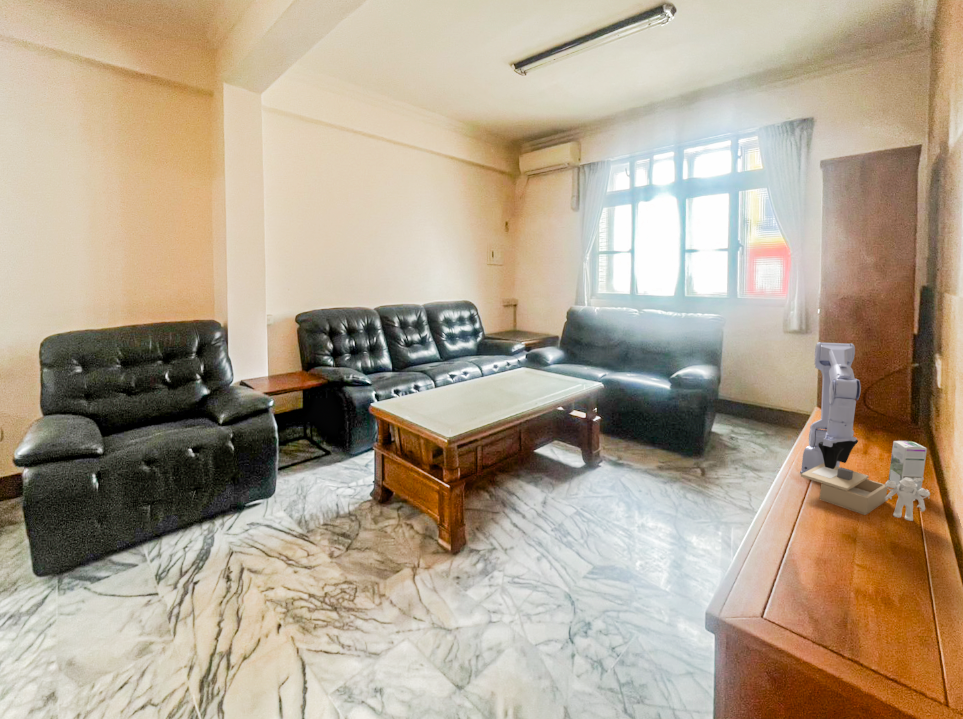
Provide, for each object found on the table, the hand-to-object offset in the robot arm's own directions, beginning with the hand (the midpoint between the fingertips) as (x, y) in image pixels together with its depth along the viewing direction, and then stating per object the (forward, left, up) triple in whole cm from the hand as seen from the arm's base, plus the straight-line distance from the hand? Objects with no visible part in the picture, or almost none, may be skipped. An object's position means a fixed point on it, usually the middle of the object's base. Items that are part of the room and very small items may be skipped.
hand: (835, 464), depth 134 cm
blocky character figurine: (+15, +3, -11) cm, 19 cm away
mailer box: (+4, +3, -10) cm, 12 cm away
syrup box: (+10, +24, -11) cm, 28 cm away
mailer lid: (-1, +3, -5) cm, 6 cm away
